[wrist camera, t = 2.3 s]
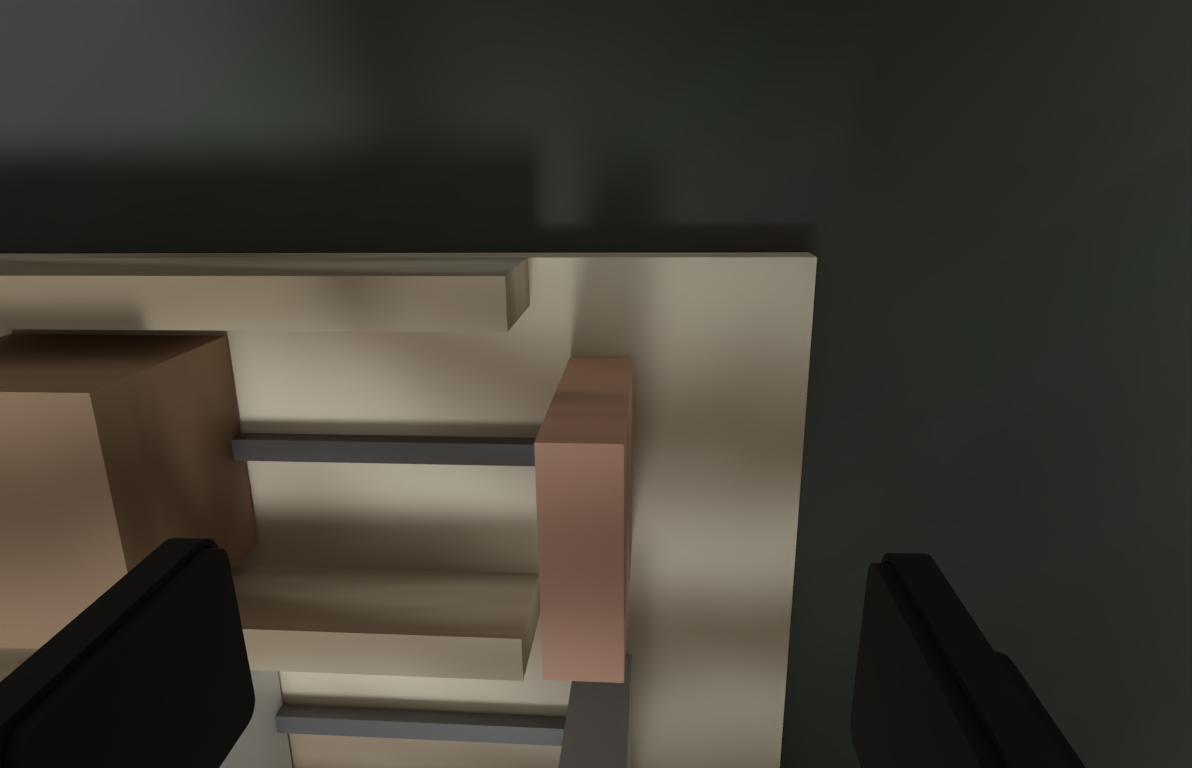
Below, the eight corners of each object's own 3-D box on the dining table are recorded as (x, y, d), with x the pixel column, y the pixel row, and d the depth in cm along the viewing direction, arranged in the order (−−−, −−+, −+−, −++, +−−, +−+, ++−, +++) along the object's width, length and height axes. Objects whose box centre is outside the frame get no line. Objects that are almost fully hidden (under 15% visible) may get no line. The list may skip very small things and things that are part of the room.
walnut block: (632, 552, 21) (624, 704, 15) (57, 536, 22) (-154, 672, 16) (633, 338, 19) (624, 417, 13) (9, 334, 20) (-247, 404, 14)
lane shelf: (768, 837, 25) (789, 963, 21) (93, 801, 26) (-2, 911, 22) (808, 252, 19) (848, 276, 15) (-44, 253, 21) (-201, 275, 17)
